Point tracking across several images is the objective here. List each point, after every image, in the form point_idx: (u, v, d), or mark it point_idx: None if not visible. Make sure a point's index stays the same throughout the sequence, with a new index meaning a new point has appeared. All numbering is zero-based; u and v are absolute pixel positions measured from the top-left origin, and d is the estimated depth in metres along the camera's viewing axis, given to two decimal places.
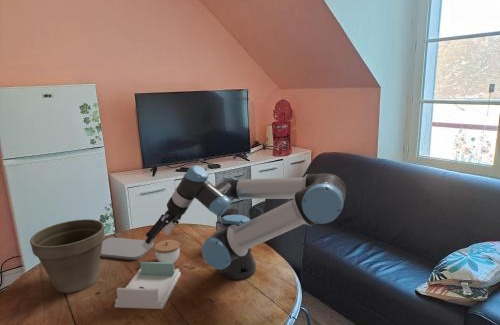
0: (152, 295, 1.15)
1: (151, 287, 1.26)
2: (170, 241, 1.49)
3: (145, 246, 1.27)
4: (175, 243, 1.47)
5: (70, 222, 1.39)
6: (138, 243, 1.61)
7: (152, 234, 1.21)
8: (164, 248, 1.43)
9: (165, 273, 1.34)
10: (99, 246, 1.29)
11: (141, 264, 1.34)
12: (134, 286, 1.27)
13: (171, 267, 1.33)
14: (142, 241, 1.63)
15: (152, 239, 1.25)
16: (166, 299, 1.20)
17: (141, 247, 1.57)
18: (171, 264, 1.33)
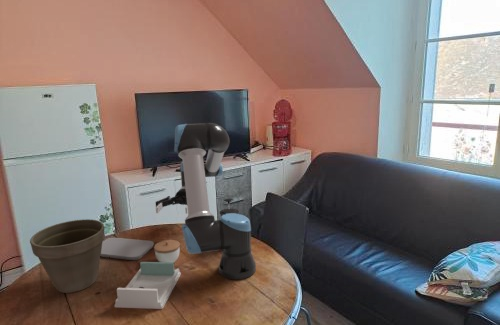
0: (152, 295, 1.15)
1: (151, 287, 1.26)
2: (170, 241, 1.48)
3: None
4: (175, 243, 1.47)
5: (70, 222, 1.39)
6: (138, 243, 1.61)
7: None
8: (164, 248, 1.43)
9: (165, 273, 1.34)
10: (99, 246, 1.29)
11: (141, 264, 1.34)
12: (134, 286, 1.27)
13: (171, 267, 1.33)
14: (142, 241, 1.63)
15: (160, 204, 1.58)
16: (166, 299, 1.20)
17: (141, 247, 1.57)
18: (171, 264, 1.33)
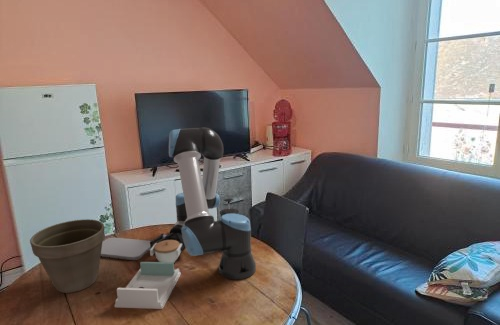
0: (152, 295, 1.15)
1: (151, 287, 1.26)
2: (170, 241, 1.48)
3: None
4: (175, 243, 1.47)
5: (70, 222, 1.39)
6: (138, 243, 1.61)
7: None
8: (164, 248, 1.43)
9: (165, 273, 1.34)
10: (99, 246, 1.29)
11: (141, 264, 1.34)
12: (134, 286, 1.27)
13: (171, 267, 1.33)
14: (142, 241, 1.63)
15: (154, 244, 1.48)
16: (166, 299, 1.20)
17: (141, 247, 1.57)
18: (171, 264, 1.33)
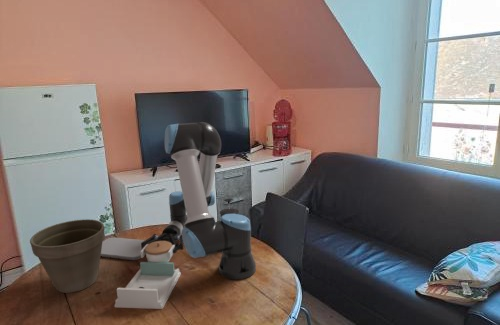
0: (152, 295, 1.15)
1: (151, 287, 1.26)
2: (162, 242, 1.41)
3: None
4: (167, 244, 1.40)
5: (70, 222, 1.39)
6: (138, 243, 1.61)
7: None
8: (155, 249, 1.36)
9: (165, 273, 1.34)
10: (99, 246, 1.29)
11: (141, 264, 1.34)
12: (134, 286, 1.27)
13: (171, 267, 1.33)
14: (142, 241, 1.63)
15: (145, 246, 1.41)
16: (166, 299, 1.20)
17: None
18: (171, 264, 1.33)
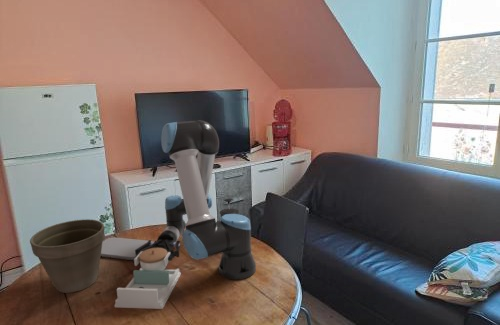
0: (152, 295, 1.15)
1: (151, 287, 1.26)
2: (157, 250, 1.35)
3: None
4: (162, 251, 1.33)
5: (70, 222, 1.39)
6: (138, 243, 1.61)
7: None
8: (149, 257, 1.29)
9: (160, 282, 1.28)
10: (99, 246, 1.29)
11: (134, 272, 1.28)
12: (134, 286, 1.27)
13: (166, 276, 1.27)
14: (142, 241, 1.63)
15: (140, 253, 1.35)
16: (166, 299, 1.20)
17: None
18: (166, 273, 1.27)
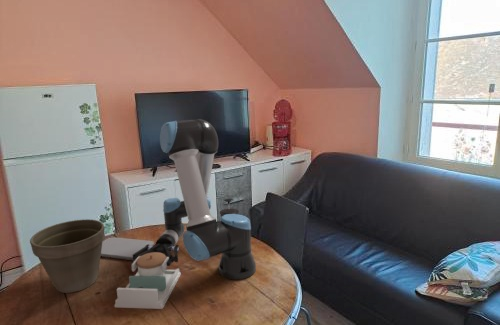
0: (152, 295, 1.15)
1: None
2: (155, 254, 1.31)
3: None
4: (161, 256, 1.29)
5: (70, 222, 1.39)
6: (138, 243, 1.61)
7: None
8: (147, 262, 1.25)
9: (156, 288, 1.24)
10: (99, 246, 1.29)
11: (129, 278, 1.24)
12: None
13: (162, 282, 1.23)
14: (142, 241, 1.63)
15: (137, 258, 1.30)
16: (166, 299, 1.20)
17: (142, 247, 1.57)
18: (162, 278, 1.23)
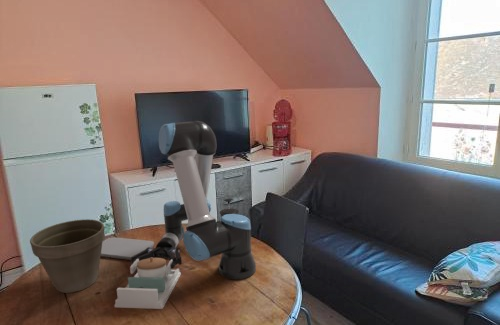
0: (152, 295, 1.15)
1: None
2: (156, 259, 1.31)
3: None
4: (161, 260, 1.30)
5: (70, 222, 1.39)
6: (138, 243, 1.61)
7: None
8: (148, 264, 1.25)
9: None
10: (99, 246, 1.29)
11: (128, 279, 1.23)
12: None
13: (161, 283, 1.22)
14: (142, 241, 1.63)
15: (136, 260, 1.32)
16: (166, 299, 1.20)
17: (142, 247, 1.57)
18: (161, 280, 1.22)
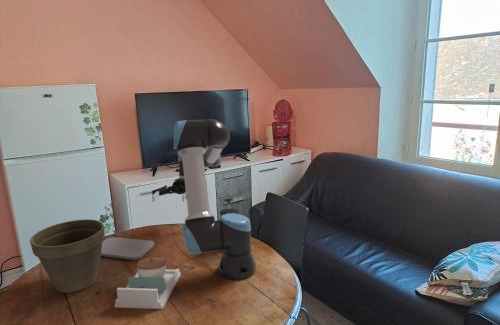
0: (152, 295, 1.15)
1: None
2: (156, 259, 1.31)
3: None
4: (161, 260, 1.30)
5: (70, 222, 1.39)
6: (138, 243, 1.61)
7: None
8: (148, 264, 1.25)
9: None
10: (99, 246, 1.29)
11: (128, 279, 1.23)
12: None
13: (161, 283, 1.22)
14: (142, 241, 1.63)
15: None
16: (166, 299, 1.20)
17: (142, 247, 1.57)
18: (161, 280, 1.22)
